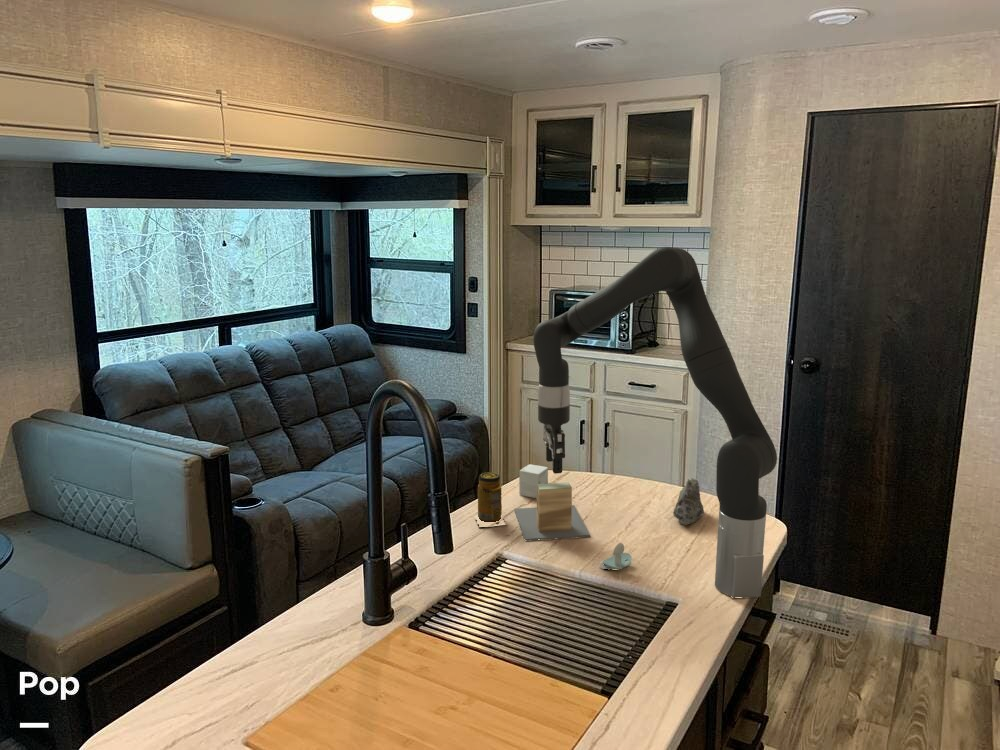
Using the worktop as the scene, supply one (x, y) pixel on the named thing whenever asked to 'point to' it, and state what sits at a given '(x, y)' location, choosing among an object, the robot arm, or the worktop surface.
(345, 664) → the worktop surface
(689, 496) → the mineral rock
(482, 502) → the condiment
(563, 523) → the block
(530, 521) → the mat
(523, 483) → the product box
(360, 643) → the worktop surface
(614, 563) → the pacifier
